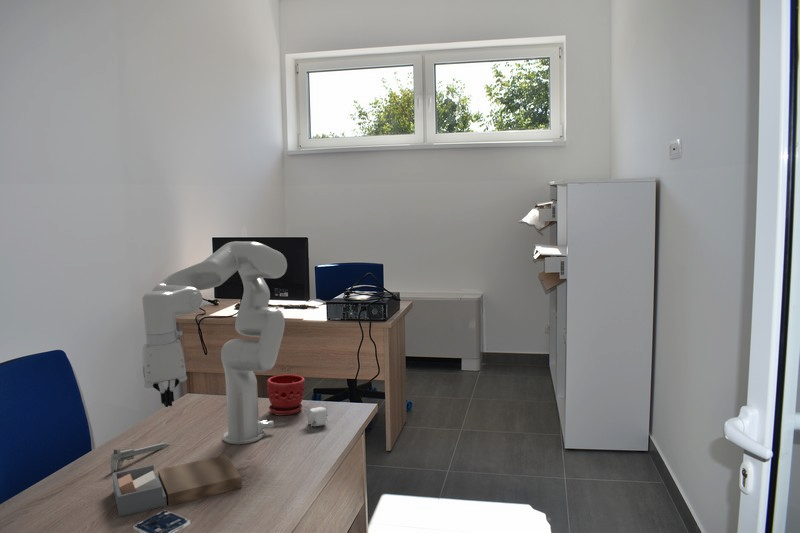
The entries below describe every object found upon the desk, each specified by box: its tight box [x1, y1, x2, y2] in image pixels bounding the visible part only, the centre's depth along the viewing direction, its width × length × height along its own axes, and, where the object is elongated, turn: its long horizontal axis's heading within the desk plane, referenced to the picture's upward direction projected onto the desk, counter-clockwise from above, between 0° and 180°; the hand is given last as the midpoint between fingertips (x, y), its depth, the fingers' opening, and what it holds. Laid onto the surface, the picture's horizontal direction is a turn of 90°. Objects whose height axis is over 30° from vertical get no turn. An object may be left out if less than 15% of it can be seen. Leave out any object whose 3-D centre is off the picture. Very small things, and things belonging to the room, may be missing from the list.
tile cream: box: [133, 471, 159, 491], centre depth 150 cm, size 5×5×3 cm
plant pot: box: [266, 374, 306, 416], centre depth 212 cm, size 13×13×12 cm
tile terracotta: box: [118, 474, 136, 494], centre depth 148 cm, size 5×5×3 cm
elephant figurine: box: [303, 402, 329, 427], centre depth 198 cm, size 8×10×7 cm
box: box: [112, 463, 168, 518], centre depth 149 cm, size 11×15×5 cm
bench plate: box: [157, 454, 243, 506], centre depth 157 cm, size 18×16×3 cm
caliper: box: [110, 442, 171, 473], centre depth 174 cm, size 21×1×6 cm, turn 157°
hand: (168, 405), depth 158 cm, fingers closed
